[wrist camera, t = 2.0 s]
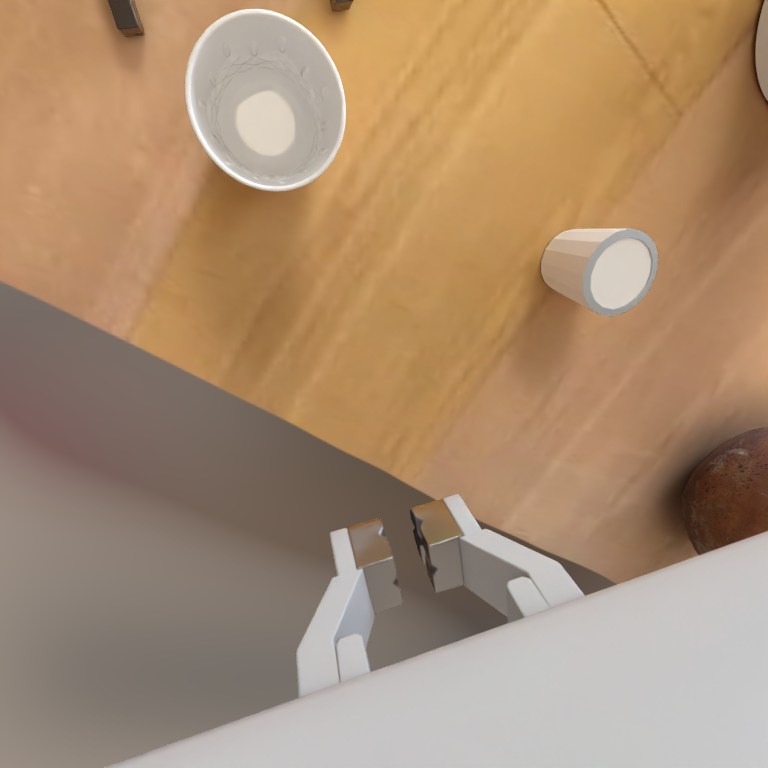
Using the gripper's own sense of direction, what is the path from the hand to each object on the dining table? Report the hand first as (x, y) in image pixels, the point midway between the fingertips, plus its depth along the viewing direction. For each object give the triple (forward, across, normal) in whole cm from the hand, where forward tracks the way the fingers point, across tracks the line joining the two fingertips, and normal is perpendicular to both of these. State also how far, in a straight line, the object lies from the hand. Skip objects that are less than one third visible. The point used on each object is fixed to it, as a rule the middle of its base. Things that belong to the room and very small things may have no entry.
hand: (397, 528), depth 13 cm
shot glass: (+27, -24, +1) cm, 36 cm away
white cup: (+27, 0, -13) cm, 30 cm away
